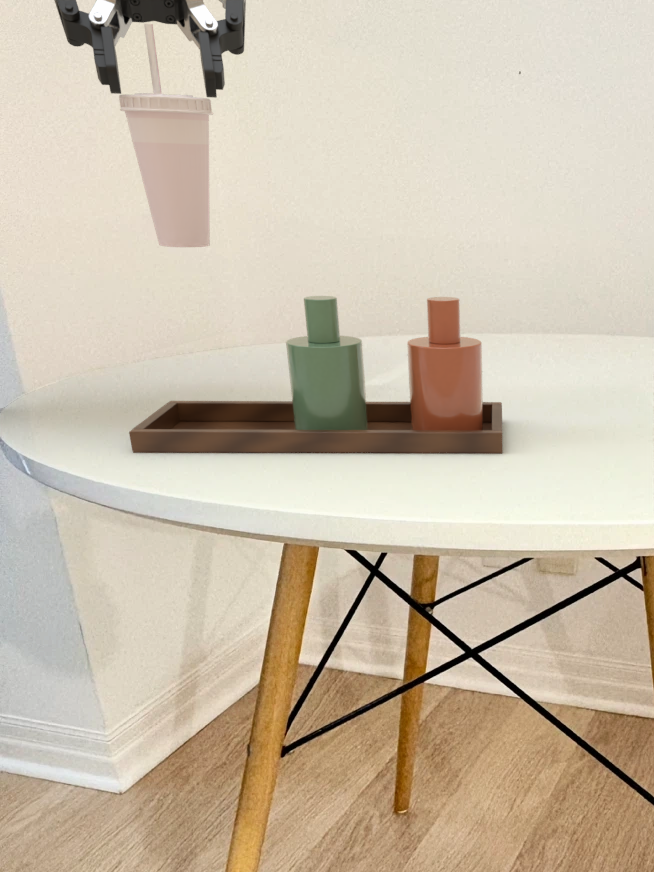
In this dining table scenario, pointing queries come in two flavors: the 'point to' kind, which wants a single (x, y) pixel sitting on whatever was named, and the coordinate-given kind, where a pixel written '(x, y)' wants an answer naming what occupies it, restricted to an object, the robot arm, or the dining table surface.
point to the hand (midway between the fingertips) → (163, 84)
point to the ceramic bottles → (345, 383)
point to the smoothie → (172, 157)
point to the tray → (303, 431)
